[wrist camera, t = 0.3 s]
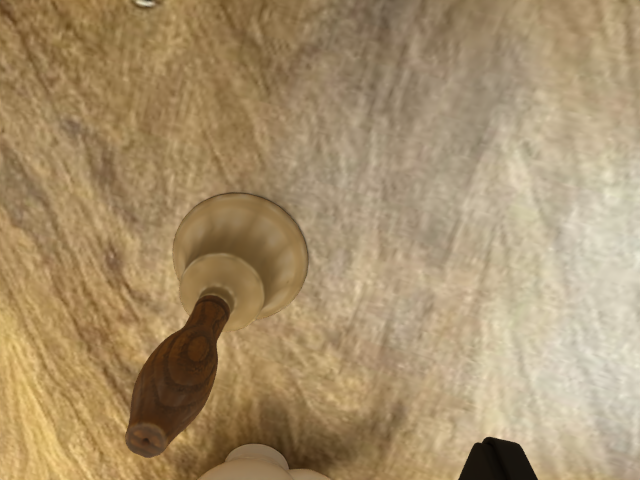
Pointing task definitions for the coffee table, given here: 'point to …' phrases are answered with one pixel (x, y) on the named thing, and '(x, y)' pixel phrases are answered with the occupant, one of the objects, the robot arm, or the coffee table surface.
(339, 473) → the coffee table surface
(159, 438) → the hand bell
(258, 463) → the teapot
